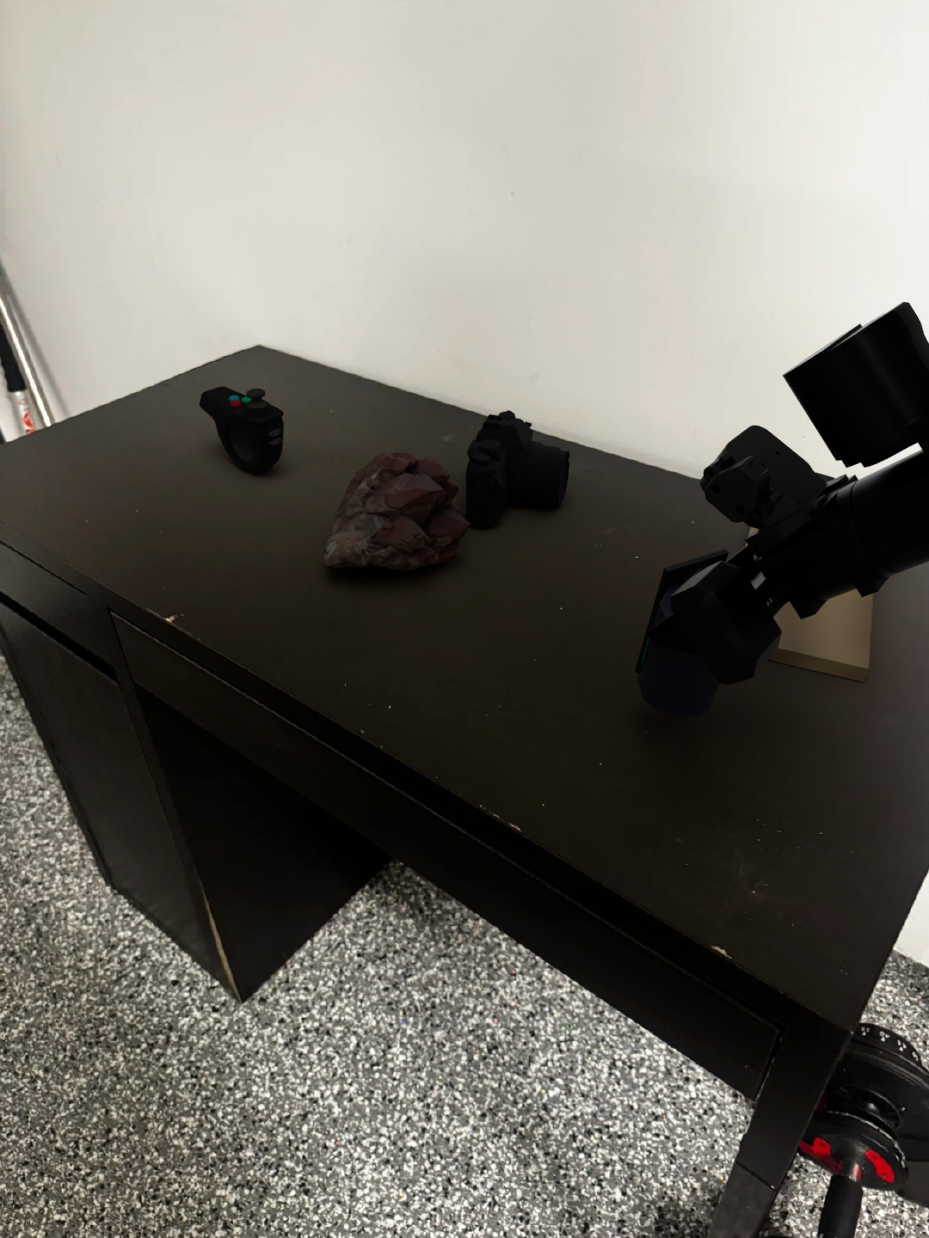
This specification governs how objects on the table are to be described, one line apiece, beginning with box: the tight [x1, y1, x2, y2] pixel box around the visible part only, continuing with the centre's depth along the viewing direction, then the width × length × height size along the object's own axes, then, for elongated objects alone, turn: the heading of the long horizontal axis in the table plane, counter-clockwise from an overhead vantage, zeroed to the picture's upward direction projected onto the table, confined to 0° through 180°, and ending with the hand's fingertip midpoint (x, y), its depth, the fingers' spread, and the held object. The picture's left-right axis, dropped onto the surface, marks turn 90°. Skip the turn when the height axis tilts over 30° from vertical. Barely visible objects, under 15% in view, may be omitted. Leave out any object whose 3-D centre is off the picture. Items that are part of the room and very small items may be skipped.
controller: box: [198, 386, 285, 473], centre depth 101 cm, size 4×12×10 cm, turn 47°
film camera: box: [464, 409, 571, 530], centre depth 95 cm, size 15×10×9 cm, turn 163°
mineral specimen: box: [322, 452, 471, 572], centre depth 85 cm, size 12×13×15 cm
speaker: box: [634, 548, 730, 718], centre depth 62 cm, size 8×6×10 cm
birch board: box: [744, 527, 875, 683], centre depth 83 cm, size 12×22×2 cm, turn 158°
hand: (679, 611), depth 62 cm, fingers closed on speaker, 7 cm apart
